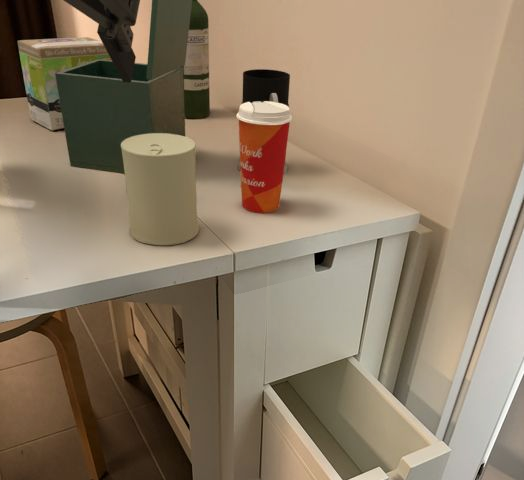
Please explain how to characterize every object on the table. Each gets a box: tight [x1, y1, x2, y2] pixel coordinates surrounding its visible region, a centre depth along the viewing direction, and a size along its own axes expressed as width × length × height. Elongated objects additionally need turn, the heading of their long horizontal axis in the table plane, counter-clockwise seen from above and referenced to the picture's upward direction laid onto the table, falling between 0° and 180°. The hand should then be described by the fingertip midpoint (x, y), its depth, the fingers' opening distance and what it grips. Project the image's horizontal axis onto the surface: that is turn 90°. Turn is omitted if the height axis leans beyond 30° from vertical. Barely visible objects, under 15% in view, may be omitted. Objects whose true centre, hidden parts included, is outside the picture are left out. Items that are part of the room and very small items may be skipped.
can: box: [121, 133, 200, 247], centre depth 71 cm, size 9×9×12 cm
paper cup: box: [235, 101, 293, 214], centre depth 79 cm, size 8×8×14 cm
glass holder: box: [237, 68, 291, 175], centre depth 90 cm, size 9×14×15 cm, turn 9°
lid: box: [146, 0, 192, 80], centre depth 82 cm, size 16×14×1 cm
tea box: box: [17, 36, 111, 131], centre depth 111 cm, size 15×10×15 cm, turn 132°
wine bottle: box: [181, 0, 211, 120], centre depth 114 cm, size 8×8×30 cm
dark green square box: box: [55, 59, 186, 174], centre depth 93 cm, size 16×14×14 cm
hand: (61, 64), depth 53 cm, fingers open, 13 cm apart
